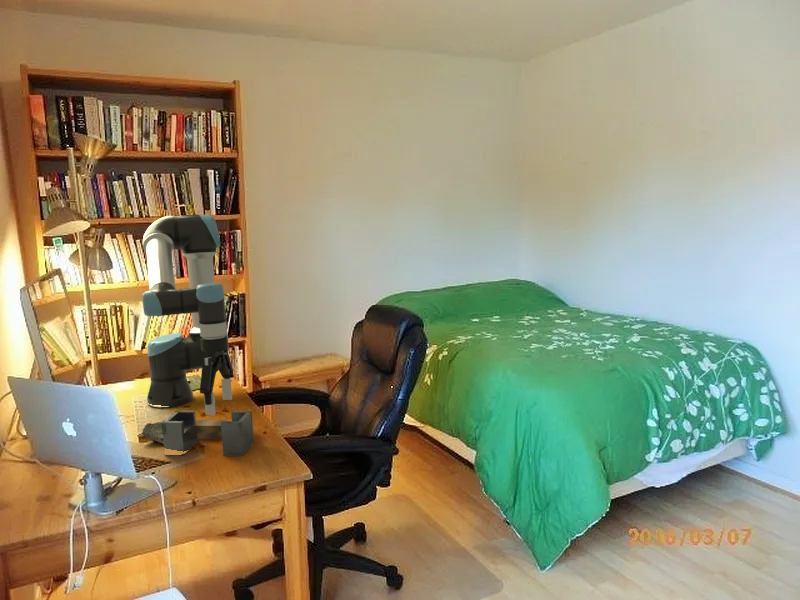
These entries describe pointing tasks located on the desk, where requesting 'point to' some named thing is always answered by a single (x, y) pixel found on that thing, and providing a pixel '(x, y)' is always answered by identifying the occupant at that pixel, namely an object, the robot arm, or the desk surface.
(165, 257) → the robot arm
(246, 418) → the bracket
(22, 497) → the desk surface
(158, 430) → the rock sample
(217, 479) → the desk surface
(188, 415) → the bracket
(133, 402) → the desk surface
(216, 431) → the rail
